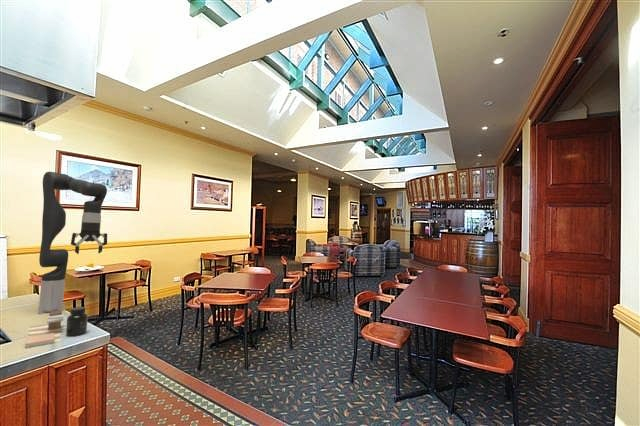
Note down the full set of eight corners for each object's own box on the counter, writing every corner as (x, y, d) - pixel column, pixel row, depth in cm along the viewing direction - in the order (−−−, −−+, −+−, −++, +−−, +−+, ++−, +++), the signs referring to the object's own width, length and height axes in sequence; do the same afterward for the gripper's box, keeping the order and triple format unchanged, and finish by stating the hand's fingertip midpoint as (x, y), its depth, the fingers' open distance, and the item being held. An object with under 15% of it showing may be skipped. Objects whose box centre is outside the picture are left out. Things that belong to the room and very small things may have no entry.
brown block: (46, 327, 126) (48, 311, 126) (61, 325, 130) (63, 310, 130) (46, 335, 118) (47, 318, 118) (62, 332, 121) (63, 316, 122)
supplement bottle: (84, 332, 126) (86, 305, 127) (88, 336, 122) (90, 308, 123) (63, 336, 121) (66, 308, 122) (67, 341, 117) (69, 311, 117)
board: (29, 329, 126) (29, 326, 126) (59, 324, 133) (60, 322, 133) (24, 350, 107) (25, 346, 107) (60, 343, 114) (60, 340, 114)
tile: (26, 337, 112) (25, 343, 106) (54, 332, 118) (54, 338, 112) (26, 341, 112) (25, 348, 106) (54, 336, 118) (53, 343, 112)
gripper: (107, 222, 151) (105, 252, 151) (72, 220, 141) (69, 253, 141) (109, 222, 146) (106, 253, 145) (73, 221, 136) (70, 254, 135)
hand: (88, 253), depth 143 cm, fingers open, 8 cm apart
